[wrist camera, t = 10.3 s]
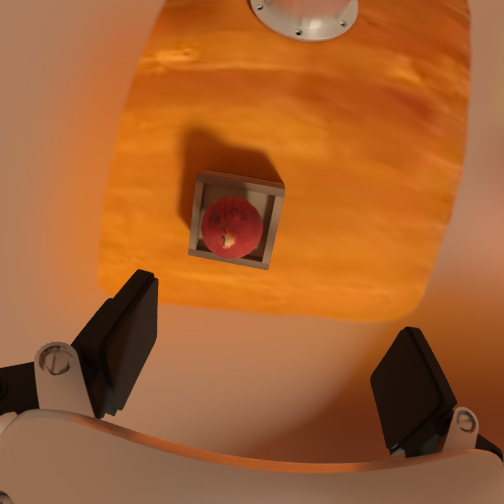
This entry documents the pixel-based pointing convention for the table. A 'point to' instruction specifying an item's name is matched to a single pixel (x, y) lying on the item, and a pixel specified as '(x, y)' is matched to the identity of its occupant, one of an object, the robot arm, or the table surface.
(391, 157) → the table surface
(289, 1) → the robot arm
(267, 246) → the base
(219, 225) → the onion
